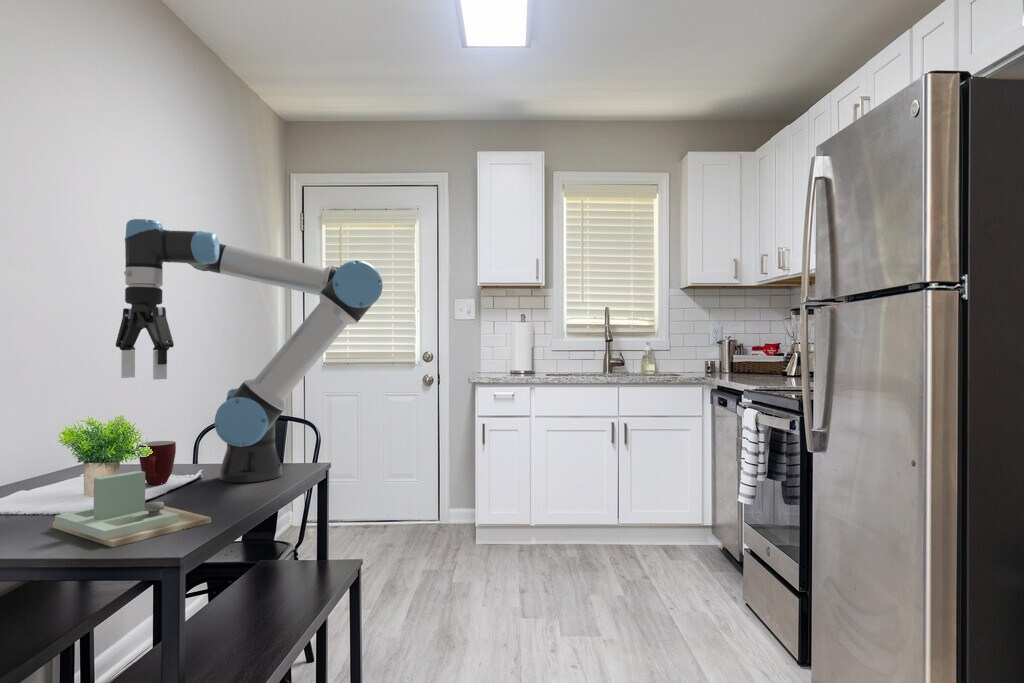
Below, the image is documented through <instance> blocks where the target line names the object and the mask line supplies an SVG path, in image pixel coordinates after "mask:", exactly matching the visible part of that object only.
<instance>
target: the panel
mask: <svg viewBox="0 0 1024 683" xmlns="http://www.w3.org/2000/svg"><path fill="white" fill-rule="evenodd" d="M145 503H146V480H145V472H143V471H142V470H134V471H128V472H122V473H115V474H110V475H104V476H98V477H97V476H96V477H93V507H91V508H87V509H81V510H77V511H72V512H67V513H62V514H61V513H60V514H56V515H54V522H55V524H56V525H59V526H62V527H65V528H68V529H71V530H74V531H77V532H80V533H83V534H86V535H90V536H93V537H96V538H99V539H102V540H108V539H113V538H117V537H121V536H125V535H129V534H133V533H137V532H142V531H146V530H150V529H154V528H158V527H162V526H167V525H171V524H175V523H179V514H176V513H172V512H168V511H164V510H160V515H158V516H153V517H149V511H145V510H144V504H145Z"/></svg>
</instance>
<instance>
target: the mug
mask: <svg viewBox="0 0 1024 683" xmlns="http://www.w3.org/2000/svg"><path fill="white" fill-rule="evenodd" d="M143 444H146V445H147V446H148V447H150V449H152V451H153V453H152V454H150V455H149V456H147V457H140V458H139V457H138V459H139V464H140V469H141V470H140V471H143V472H145V483H147V485H149V484H160V485H162V484H161V483H164V484H166V483H167V482H168V480H169V478H170V477H171V475H172V472H173V468H174V463H175V459H176V452H177V450H176V448H177V447H176V446H177V444H176V441H173V440H158V441H157V440H156V441H146V442H142V443H139V444H138V448H139V447H146V446H143ZM165 482H166V483H165Z"/></svg>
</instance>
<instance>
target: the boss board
mask: <svg viewBox="0 0 1024 683" xmlns="http://www.w3.org/2000/svg"><path fill="white" fill-rule="evenodd" d="M144 510H145V511H149V517H153V516H158V515H160V510H164V511H168V512H172V513H176V514H179V523H175V524H171V525H167V526H162V527H158V528H154V529H150V530H146V531H142V532H137V533H133V534H129V535H125V536H121V537H117V538H113V539H108V540H102V539H99V538H96V537H93V536H90V535H86V534H83V533H80V532H77V531H74V530H71V529H68V528H65V527H62V526H59V525H56V524H55V521H53V522H52V528H53V529H56V530H59V531H62V532H63V533H64V532H65V533H68V534H71V535H74V536H76V537H80V538H83V539H87V540H89V541H91V542H95V543H98V544H100V545H101V544H102V545H104V546H107V547H110V548H115V547H119V546H124V545H127V544H131V543H136V542H139V541H143V540H147V539H151V538H156V537H160V536H163V535H167V534H172V533H175V532H179V531H183V529H184V530H188V529H191V528H196V527H199V526H203V525H207V524H211V523H212V517H210V516H206V515H202V514H198V513H194V512H191V511H186V510H183V509H178V508H174V507H169V506H166V505H165V502H164V501H152V502H145V504H144ZM187 528H188V529H187Z"/></svg>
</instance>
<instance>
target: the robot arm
mask: <svg viewBox="0 0 1024 683" xmlns="http://www.w3.org/2000/svg"><path fill="white" fill-rule="evenodd" d="M124 245H125V247H124V248H125V252H124V253H125V255H124V256H125V270H124V272H123V274H124V276H125V280H124V281H125V285H126V286H127V287H126V288H125V289H124V301H125V303H126V304H129V305H131V306H130V308H129V307H128V308H123V309H122V318H121V323H120V325H119V326H120V327H119V330H118V334H117V339H116V341H115V347H116V348H119V350H121V357H120V358H121V362H120V363H121V366H120V367H121V370H120V371H121V376H120V377H121V378H122V379H127V378H128V379H129V378H130V379H131V378H136V347H135V344H136V342H137V339H138V338H139V335H140V334H141V331H142V330H144V329H146V331H147V333H148V335H149V337H150V340H151V342H152V344H153V346H154V347H153V348H152V353H153V354H152V359H153V360H152V365H153V366H152V380H168V351H170V350H169V349H170V348H174V340H173V336H172V333H171V329H170V326H169V322H168V318H167V310H166V309H167V308H166V307H165V306H160V305H162V304H163V289H162V288H161V287H162V286H163V278H164V277H163V273H164V272H163V263H175V264H176V263H178V264H179V263H180V264H187V265H190V266H191V267H193V268H194V269H196V270H197V271H202V272H211V273H216V274H221V275H226V276H231V277H235V278H238V279H239V278H240V279H244V280H248V281H253V282H257V283H262V284H267V285H271V286H276V287H279V288H284V289H288V290H293V291H297V292H302V293H305V294H311V295H315V296H318V297H319V303H318V304H316V305H317V306H315V308H314V309H313V310H312V311H311V312H310V313H309V315H308V316H307V317H306V319H304V320H303V321H302V323H301V324H300V325H299V326H298V327H297V329H296V330H295V331H294V332H293V334H292V335H291V336H290V337H289V339H287V340H286V341H285V343H284V344H283V345H282V346H281V347H280V349H279V350H278V351H277V352H276V353H275V354H274V356H273V357H272V358H271V360H270V361H268V363H267V364H266V365H265V367H263V369H262V370H261V371H260V372H259V373H258V374H257V376H256V377H255V378H251V379H246V380H244V381H243V382H242V383H241V384H240V385H239V387H237V388H231V389H229V390H228V391H227V394H226V400H225V402H223V403H222V404H220V406H219V407H218V408H217V410H216V413H215V416H214V429H215V431H216V434H217V435H218V437H219V438H220V439H221V441H223V442H224V443H226V451H225V453H224V456H223V459H222V463H221V466H220V468H219V474H218V475H219V480H220V481H222V482H224V483H226V482H227V483H236V484H237V483H239V484H240V483H255V482H264V481H271V480H274V479H278V478H280V477H281V476H282V475H283V467H282V464H281V460H280V456H279V454H278V451H277V448H276V421H277V420H278V418H279V417H280V415H282V413H283V412H284V411H285V409H286V407H285V401H286V399H287V398H288V396H289V395H290V394H291V393H292V392H293V391H294V389H295V388H296V387H297V386H298V384H300V382H302V380H303V379H304V378H305V376H306V375H307V374H308V372H309V371H310V370H311V369H312V368H313V366H315V364H316V363H317V362H318V361H319V359H320V358H321V357H322V356H323V355H324V354H325V352H326V351H327V350H328V349H329V347H330V346H331V345H332V344H333V343H334V342H335V340H337V338H338V337H339V335H340V334H341V333H342V332H343V331H344V329H345V328H347V326H348V325H353V324H358V322H359V321H360V320H361V319H362V318H363V317H364V315H365V314H366V313H367V312H368V310H369V309H370V308H372V306H373V304H374V303H376V302H377V301H378V299H380V297H381V294H382V292H383V288H384V286H383V280H382V279H383V278H382V276H381V274H380V273H379V271H378V269H376V268H375V266H373V265H372V264H370V263H369V262H366V261H365V260H364V261H363V260H350V261H348V262H344V263H343V264H341V265H340V266H334V265H328V266H327V267H322V266H318V265H313V264H309V263H304V262H299V261H296V260H291V259H287V258H284V257H283V258H282V257H278V256H273V255H270V254H265V253H261V252H257V251H253V250H248V249H244V248H240V247H236V246H231V245H226V244H223V243H220V241H219V237H218V235H217V234H216V233H215V232H207V231H203V230H198V231H197V230H196V231H194V230H190V231H189V230H168V229H164V226H163V223H161V222H160V221H158V220H154V219H145V218H132V219H130V220H128V221H127V222H126V225H125V237H124ZM157 305H159V306H157Z"/></svg>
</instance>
